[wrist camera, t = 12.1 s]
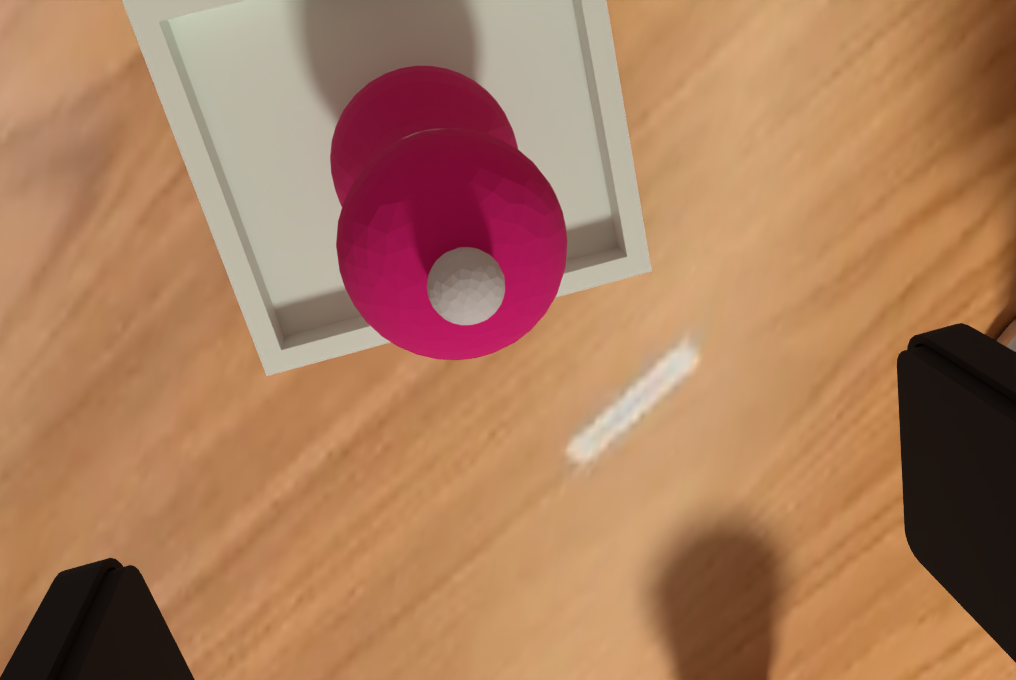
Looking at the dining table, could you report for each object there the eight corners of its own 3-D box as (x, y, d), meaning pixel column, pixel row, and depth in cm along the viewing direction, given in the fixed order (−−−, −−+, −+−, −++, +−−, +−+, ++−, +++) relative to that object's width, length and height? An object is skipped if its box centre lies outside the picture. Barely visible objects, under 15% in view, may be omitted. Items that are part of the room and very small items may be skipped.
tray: (574, -109, 34) (587, -115, 32) (637, 257, 41) (651, 271, 39) (136, -1, 34) (121, 0, 32) (271, 356, 40) (266, 376, 38)
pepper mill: (325, 60, 35) (279, 137, 17) (500, 54, 36) (638, 121, 18) (342, 231, 38) (318, 459, 19) (504, 222, 39) (626, 430, 20)
